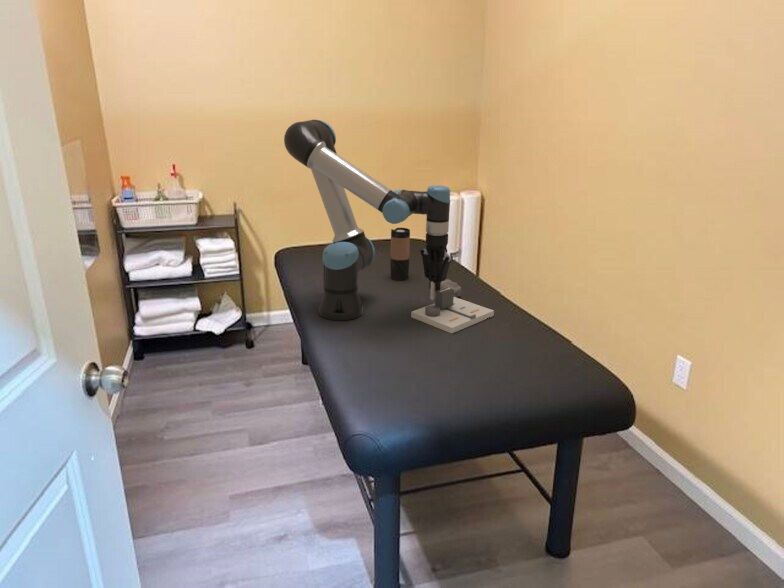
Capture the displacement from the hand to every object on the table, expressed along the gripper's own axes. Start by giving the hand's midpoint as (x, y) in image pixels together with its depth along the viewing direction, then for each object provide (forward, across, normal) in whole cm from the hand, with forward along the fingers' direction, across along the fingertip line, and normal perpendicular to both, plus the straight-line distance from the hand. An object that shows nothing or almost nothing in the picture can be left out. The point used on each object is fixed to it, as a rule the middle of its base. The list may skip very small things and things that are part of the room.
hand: (434, 298), depth 199 cm
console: (+4, -9, 0) cm, 10 cm away
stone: (+4, +5, -14) cm, 16 cm away
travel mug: (+4, +32, -15) cm, 36 cm away
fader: (+2, -5, 0) cm, 5 cm away
